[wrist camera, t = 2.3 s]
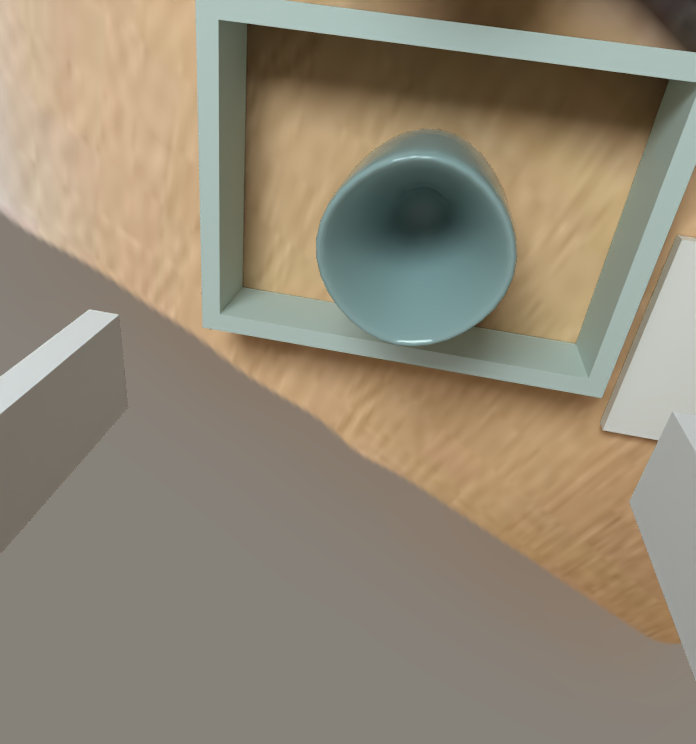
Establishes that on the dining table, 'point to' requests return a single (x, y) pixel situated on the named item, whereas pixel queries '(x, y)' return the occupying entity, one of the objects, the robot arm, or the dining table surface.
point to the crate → (477, 345)
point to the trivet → (660, 354)
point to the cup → (418, 240)
